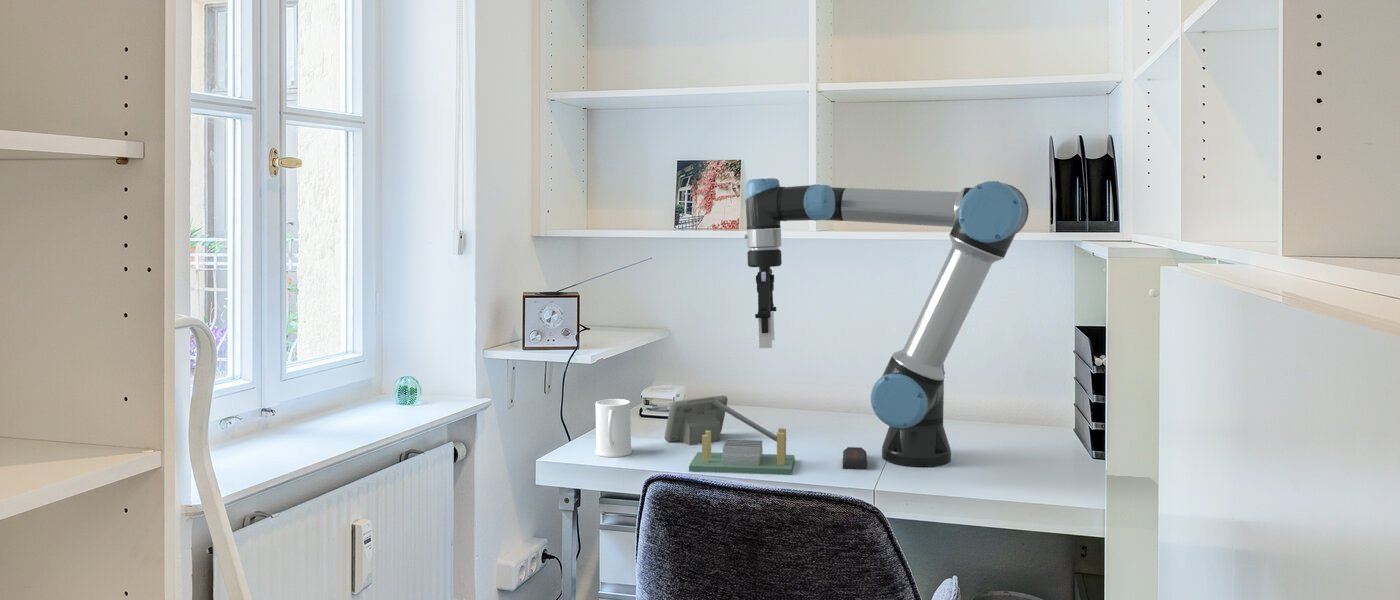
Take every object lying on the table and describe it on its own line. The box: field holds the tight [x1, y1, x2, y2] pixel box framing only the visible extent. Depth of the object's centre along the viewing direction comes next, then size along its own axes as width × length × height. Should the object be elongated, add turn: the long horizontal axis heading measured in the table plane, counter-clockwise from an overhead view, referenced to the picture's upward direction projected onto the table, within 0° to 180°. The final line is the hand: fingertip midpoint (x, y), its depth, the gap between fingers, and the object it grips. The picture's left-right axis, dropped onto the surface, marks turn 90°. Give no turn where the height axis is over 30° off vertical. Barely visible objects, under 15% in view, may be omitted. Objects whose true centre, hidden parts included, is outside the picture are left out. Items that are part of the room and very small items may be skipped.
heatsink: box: [722, 438, 764, 466], centre depth 207 cm, size 8×8×4 cm
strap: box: [713, 400, 777, 443], centre depth 206 cm, size 18×3×1 cm
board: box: [688, 427, 796, 476], centre depth 207 cm, size 22×12×8 cm, turn 81°
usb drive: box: [842, 446, 868, 471], centre depth 210 cm, size 5×12×3 cm, turn 171°
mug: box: [594, 398, 633, 458], centre depth 218 cm, size 12×8×12 cm
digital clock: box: [664, 395, 728, 446], centre depth 232 cm, size 16×9×11 cm, turn 109°
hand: (767, 344), depth 211 cm, fingers open, 13 cm apart
